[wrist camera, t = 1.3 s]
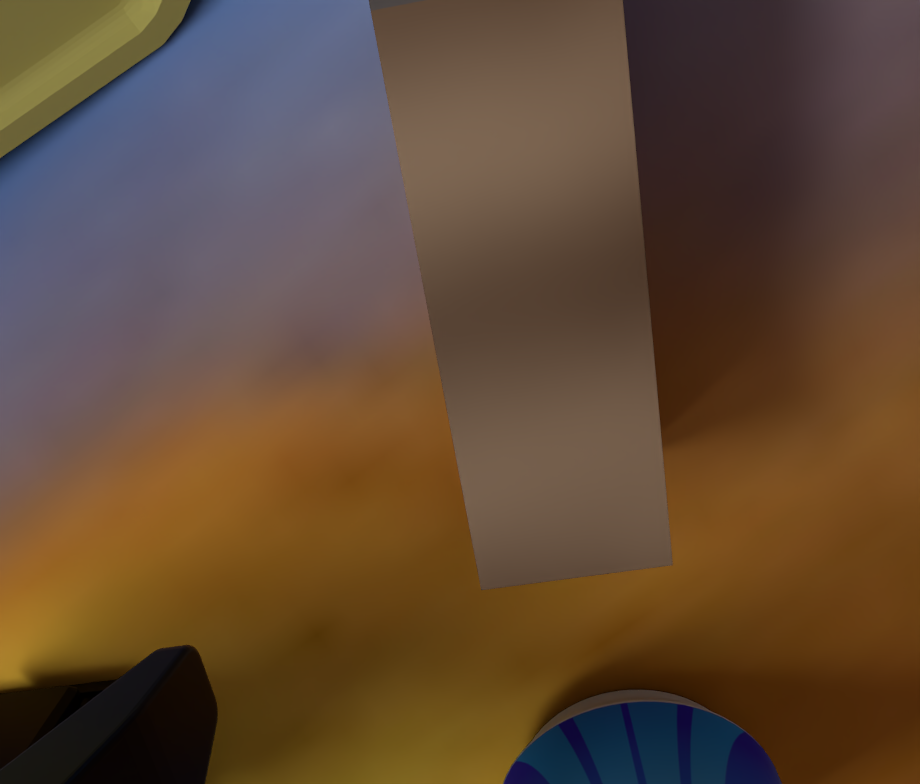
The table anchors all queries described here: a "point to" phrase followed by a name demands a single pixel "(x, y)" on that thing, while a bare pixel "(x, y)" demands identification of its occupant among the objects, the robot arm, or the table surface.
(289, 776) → the table surface
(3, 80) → the plastic component
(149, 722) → the robot arm
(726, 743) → the beer can
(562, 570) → the rail
